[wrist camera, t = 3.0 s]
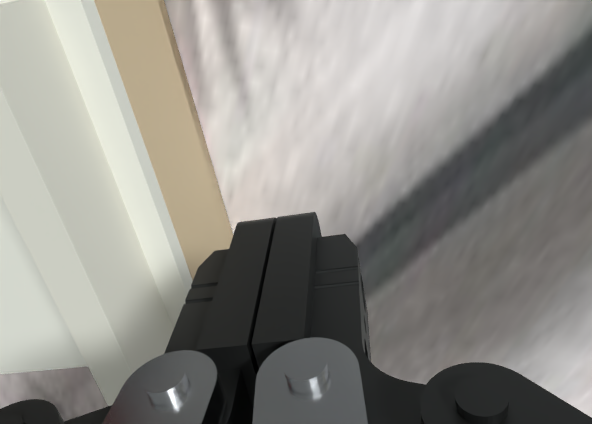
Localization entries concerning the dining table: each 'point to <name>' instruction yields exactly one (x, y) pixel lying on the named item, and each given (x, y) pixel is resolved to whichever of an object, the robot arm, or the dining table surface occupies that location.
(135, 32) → the open tan box
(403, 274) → the dining table surface
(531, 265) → the dining table surface
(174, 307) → the lid
